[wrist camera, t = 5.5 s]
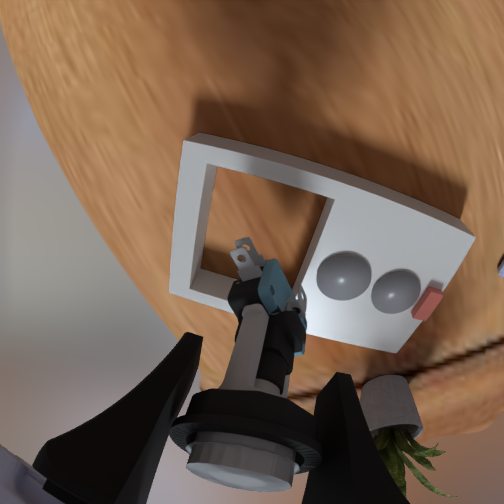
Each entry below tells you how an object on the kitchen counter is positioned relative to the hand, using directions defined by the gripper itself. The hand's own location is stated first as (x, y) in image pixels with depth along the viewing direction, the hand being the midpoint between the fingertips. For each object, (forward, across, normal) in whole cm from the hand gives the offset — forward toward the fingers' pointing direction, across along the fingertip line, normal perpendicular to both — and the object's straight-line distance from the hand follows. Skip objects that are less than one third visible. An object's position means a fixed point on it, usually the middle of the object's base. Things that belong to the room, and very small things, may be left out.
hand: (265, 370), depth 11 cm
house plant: (+11, -14, +14) cm, 22 cm away
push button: (+6, 0, 0) cm, 6 cm away
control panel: (+10, -2, 0) cm, 11 cm away
